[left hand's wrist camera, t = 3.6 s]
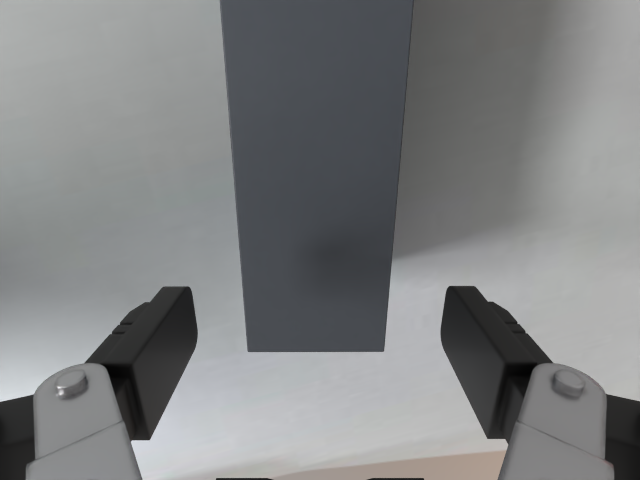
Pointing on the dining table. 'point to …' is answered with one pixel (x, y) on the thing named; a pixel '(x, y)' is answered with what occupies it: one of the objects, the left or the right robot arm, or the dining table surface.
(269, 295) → the box
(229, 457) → the dining table surface
